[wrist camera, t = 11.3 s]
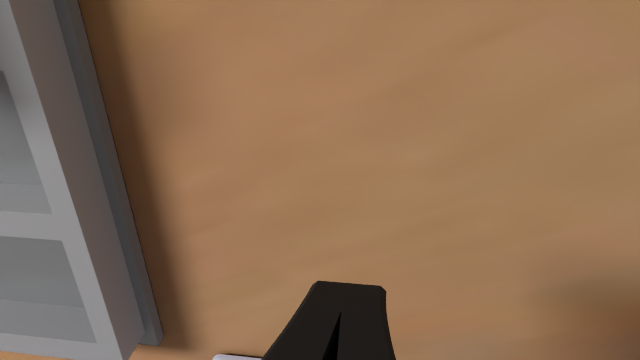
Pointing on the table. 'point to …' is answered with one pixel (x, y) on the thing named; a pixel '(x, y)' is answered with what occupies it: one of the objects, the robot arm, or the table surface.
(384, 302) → the robot arm
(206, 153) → the table surface
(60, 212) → the parts fixture tray
